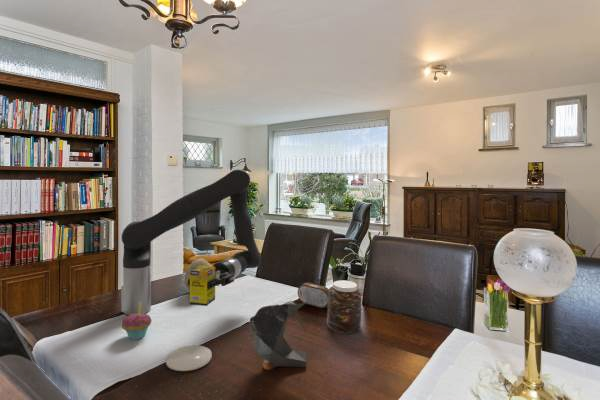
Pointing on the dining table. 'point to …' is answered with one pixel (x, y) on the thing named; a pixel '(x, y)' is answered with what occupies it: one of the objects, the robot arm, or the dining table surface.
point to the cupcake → (136, 324)
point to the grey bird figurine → (276, 336)
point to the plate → (188, 358)
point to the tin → (313, 295)
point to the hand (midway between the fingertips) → (198, 284)
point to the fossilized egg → (193, 265)
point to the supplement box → (201, 285)
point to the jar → (344, 307)
